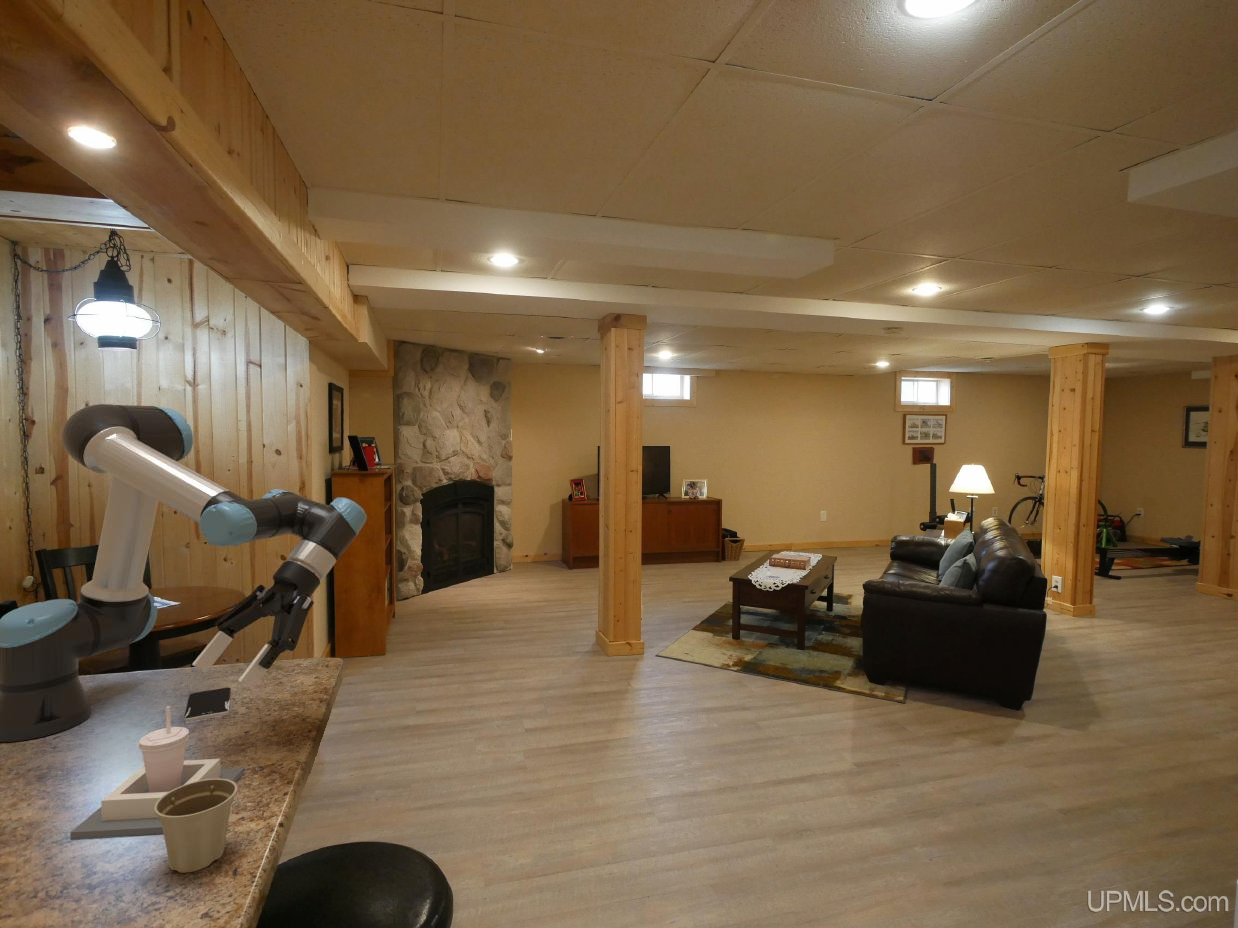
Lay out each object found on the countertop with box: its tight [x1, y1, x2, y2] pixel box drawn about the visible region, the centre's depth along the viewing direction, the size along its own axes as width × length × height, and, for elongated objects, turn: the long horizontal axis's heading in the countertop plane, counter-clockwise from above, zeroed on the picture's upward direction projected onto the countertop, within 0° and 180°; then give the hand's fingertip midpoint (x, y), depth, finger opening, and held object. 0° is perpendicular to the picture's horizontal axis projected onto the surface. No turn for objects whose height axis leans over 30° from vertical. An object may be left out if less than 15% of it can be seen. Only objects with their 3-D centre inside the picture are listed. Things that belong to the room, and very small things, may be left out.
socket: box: [69, 758, 245, 840], centre depth 98 cm, size 16×16×4 cm
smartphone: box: [183, 687, 232, 723], centre depth 134 cm, size 8×1×15 cm
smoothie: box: [138, 705, 190, 793], centre depth 98 cm, size 6×6×14 cm
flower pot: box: [154, 778, 238, 874], centre depth 86 cm, size 9×9×9 cm
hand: (221, 676), depth 105 cm, fingers open, 13 cm apart
